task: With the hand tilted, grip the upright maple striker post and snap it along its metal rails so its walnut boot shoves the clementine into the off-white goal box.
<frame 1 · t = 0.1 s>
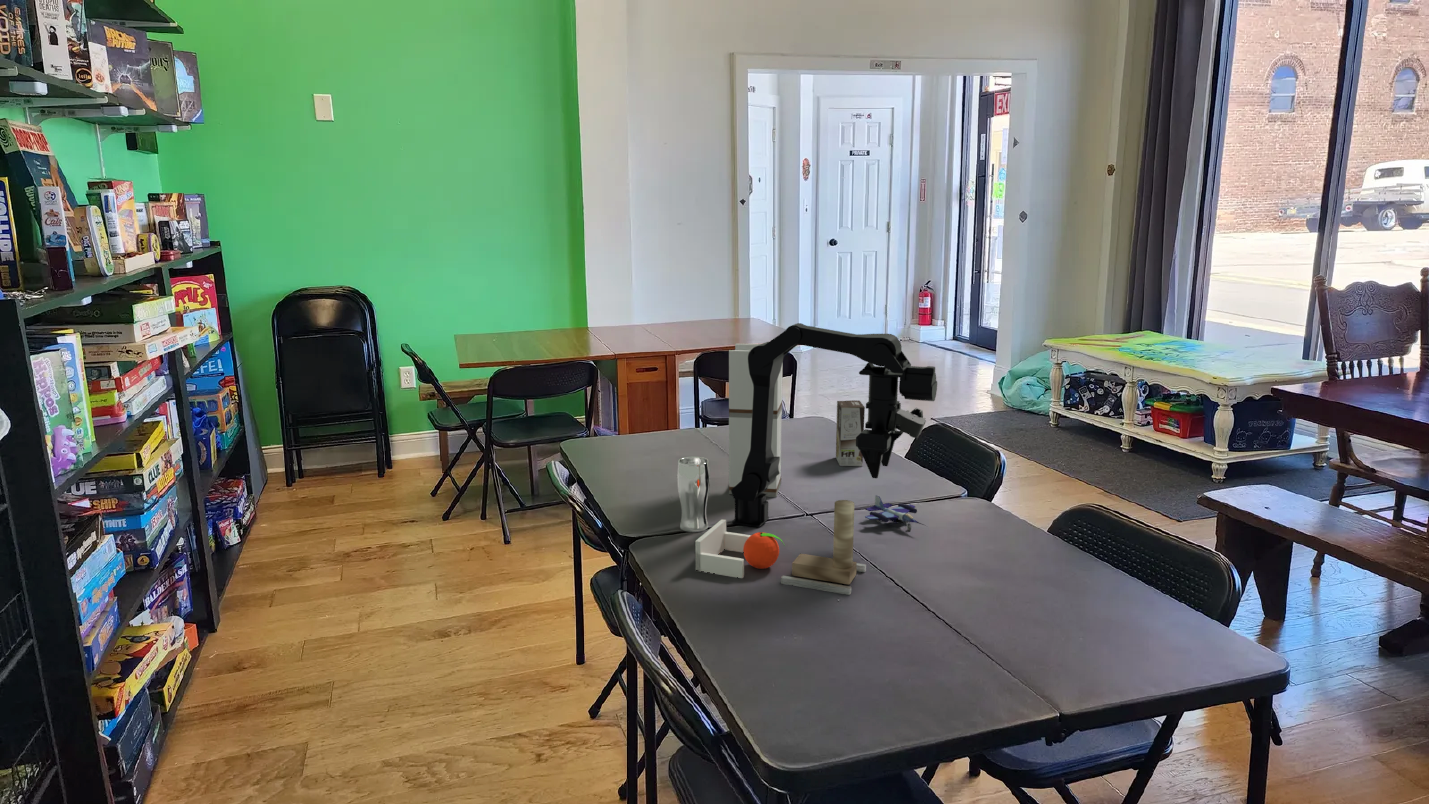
hand: (880, 471, 187), 15 cm above the table, tool pointing down, fingers open, 9 cm apart
white square tower: (755, 490, 224), on the table
beer glass: (694, 528, 198), on the table
goal: (733, 562, 179), on the table
coffee box: (849, 462, 247), on the table
clementine: (763, 568, 176), on the table
toy airplane: (895, 526, 199), on the table
striker: (825, 538, 170), point 8 cm above the table, slide at 0.0 cm
rails: (824, 576, 172), on the table
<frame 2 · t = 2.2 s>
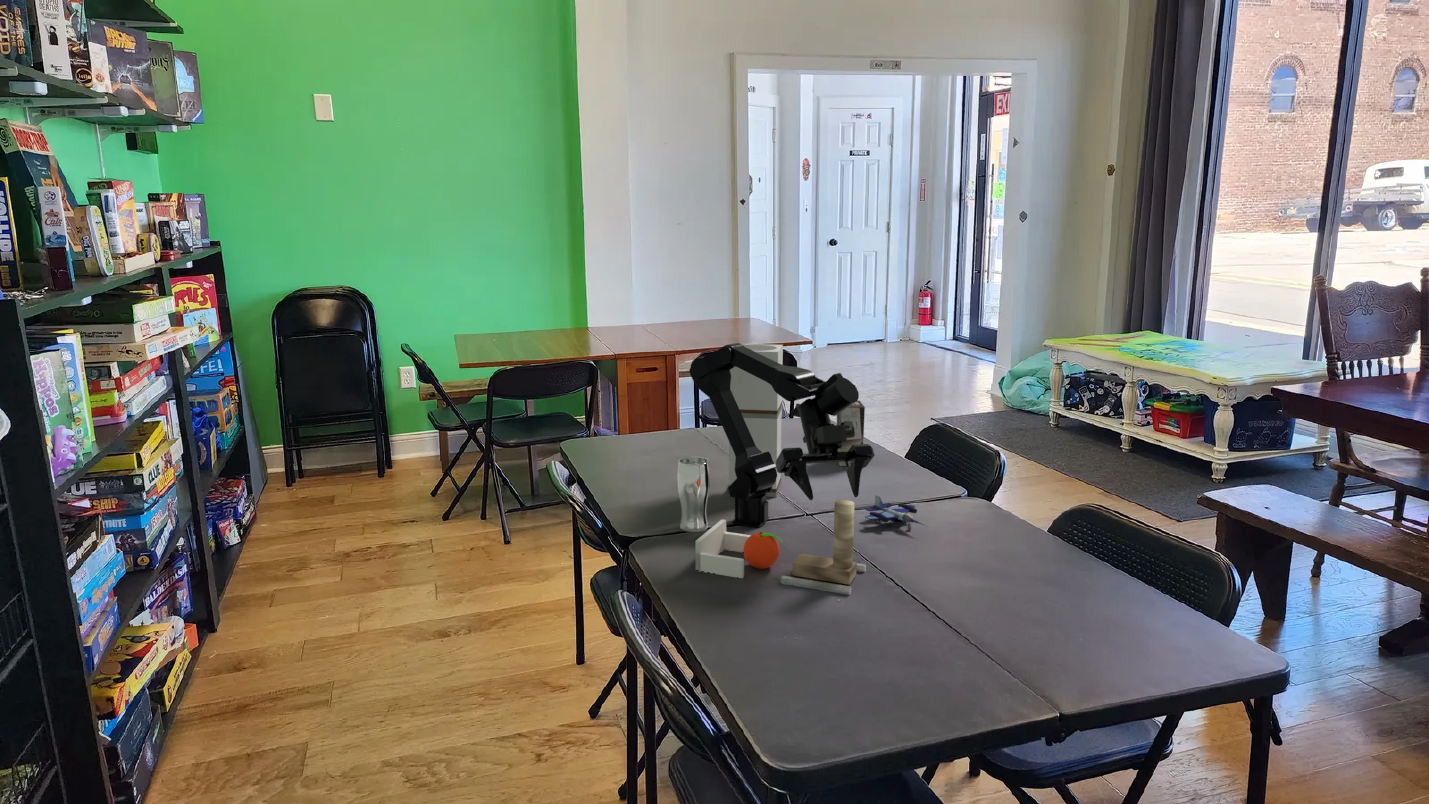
hand: (834, 497, 175), 13 cm above the table, tool tilted 45°, fingers open, 9 cm apart
nothing on the table moved.
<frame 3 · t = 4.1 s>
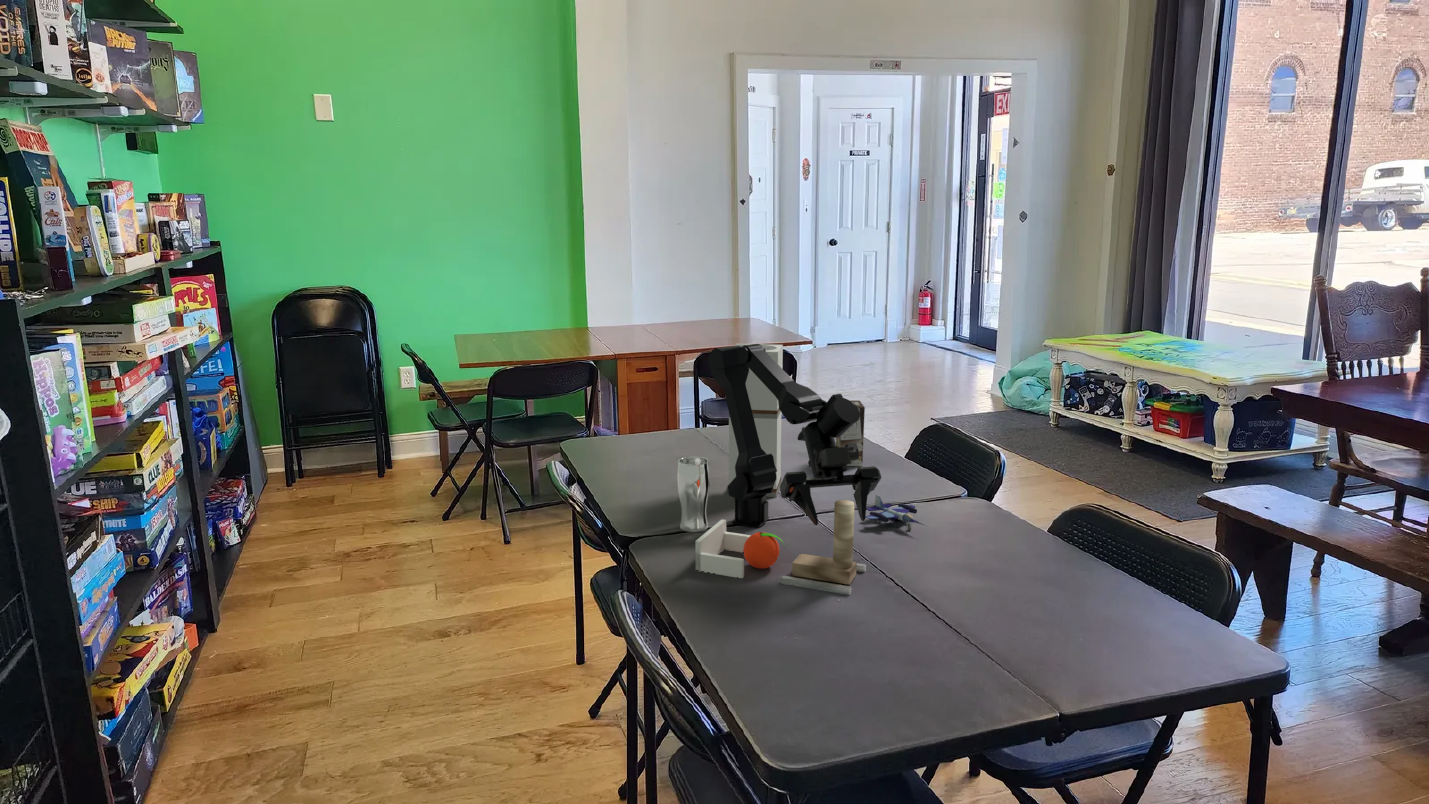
hand: (840, 522, 170), 11 cm above the table, tool tilted 45°, fingers open, 9 cm apart
nothing on the table moved.
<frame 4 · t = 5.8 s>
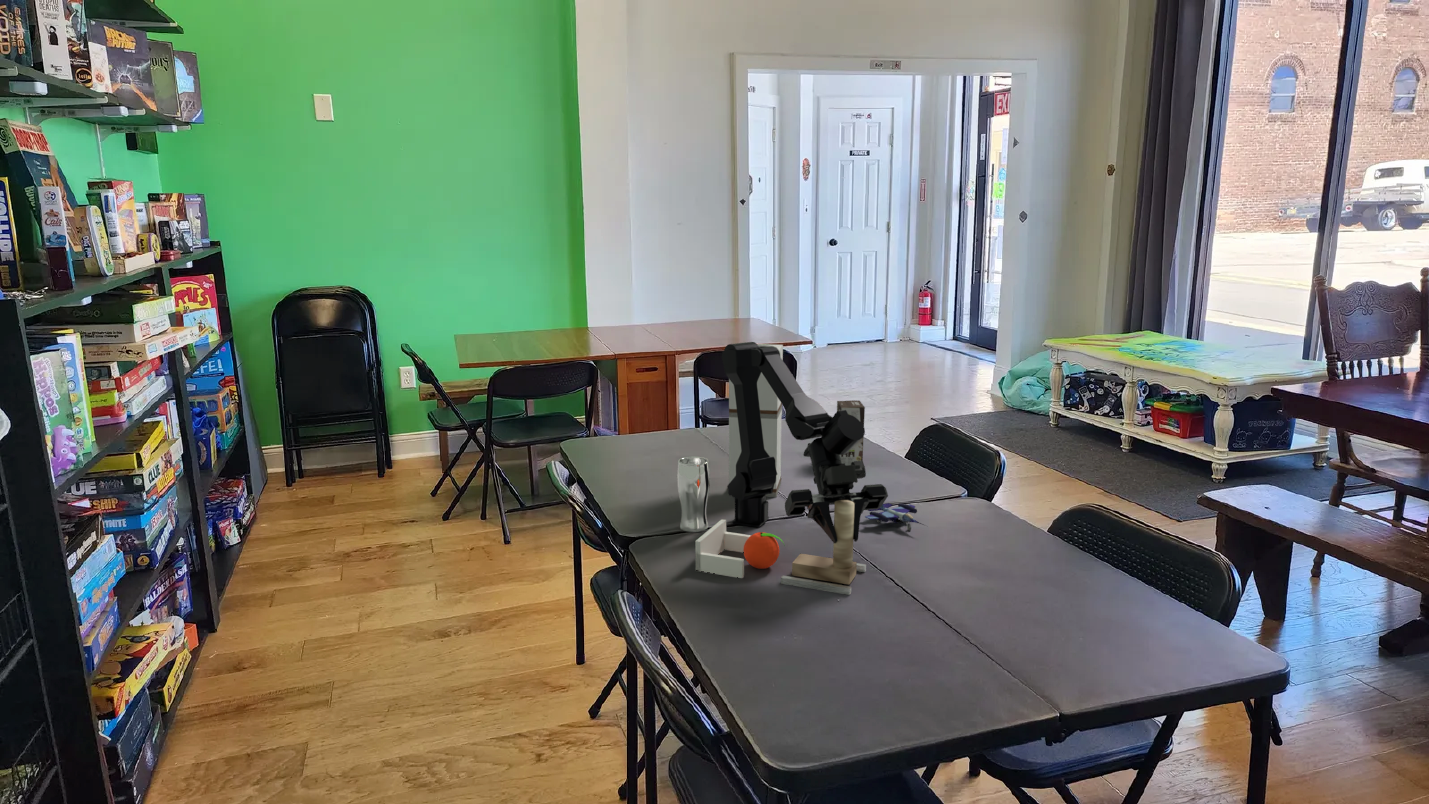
hand: (846, 541, 167), 8 cm above the table, tool tilted 45°, fingers closed on striker, 4 cm apart
striker: (825, 538, 170), point 8 cm above the table, slide at 0.0 cm, touching gripper
everything else where it was.
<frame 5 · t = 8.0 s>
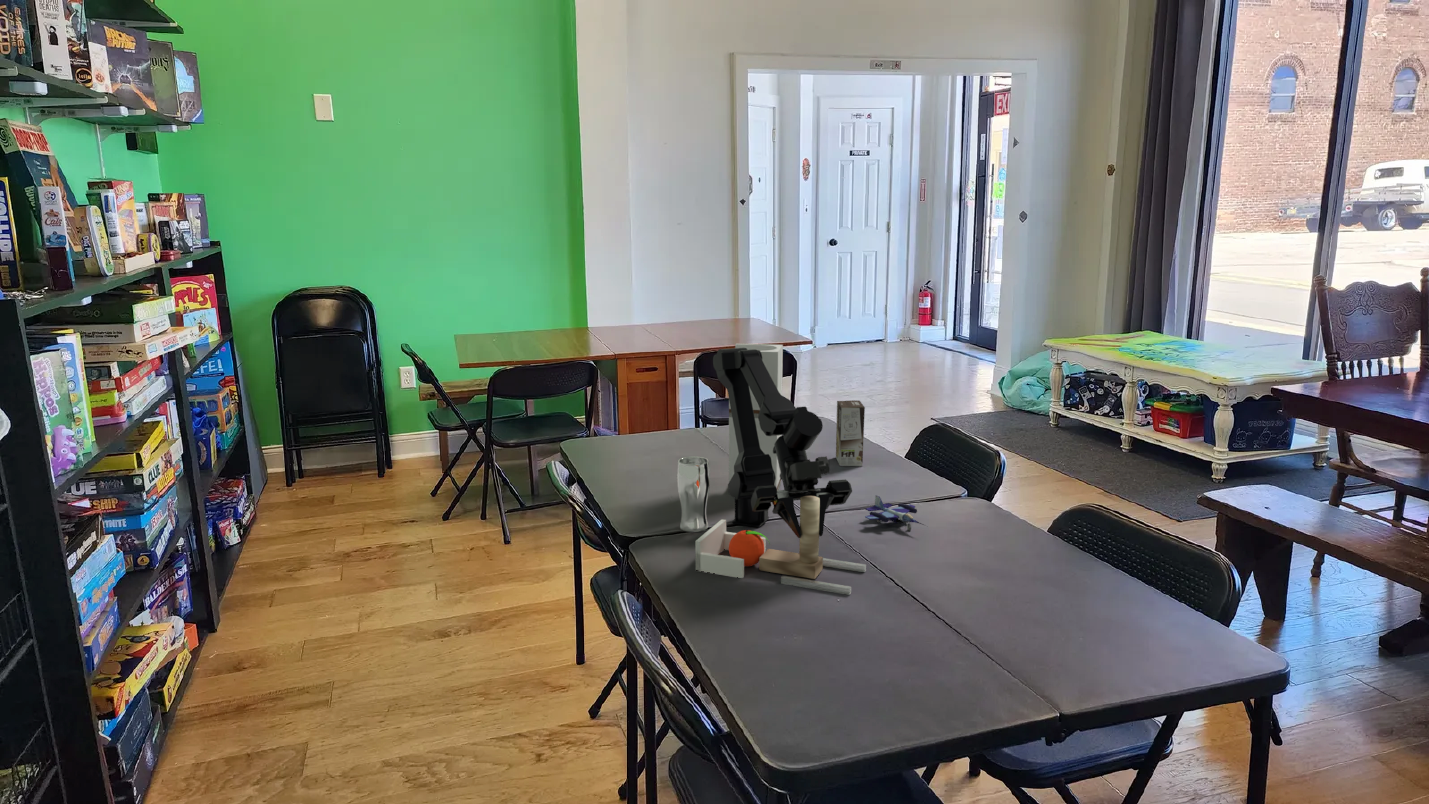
hand: (810, 536, 170), 8 cm above the table, tool tilted 45°, fingers closed on striker, 4 cm apart
clementine: (749, 566, 177), on the table
striker: (791, 533, 172), point 8 cm above the table, slide at 6.6 cm, touching gripper
everything else where it was.
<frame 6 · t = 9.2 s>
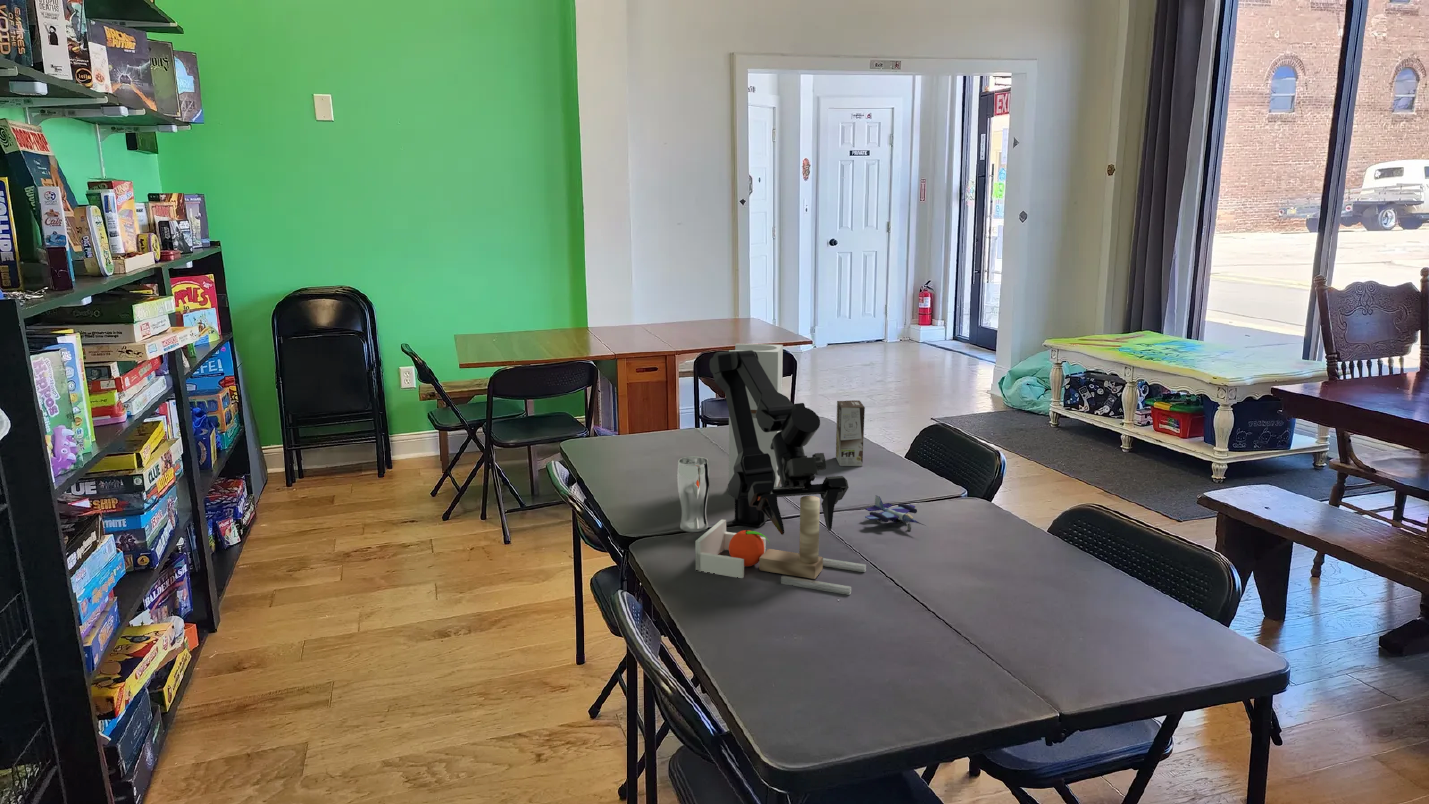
hand: (806, 531, 171), 8 cm above the table, tool tilted 45°, fingers open, 9 cm apart
striker: (791, 533, 172), point 8 cm above the table, slide at 6.5 cm
everything else where it was.
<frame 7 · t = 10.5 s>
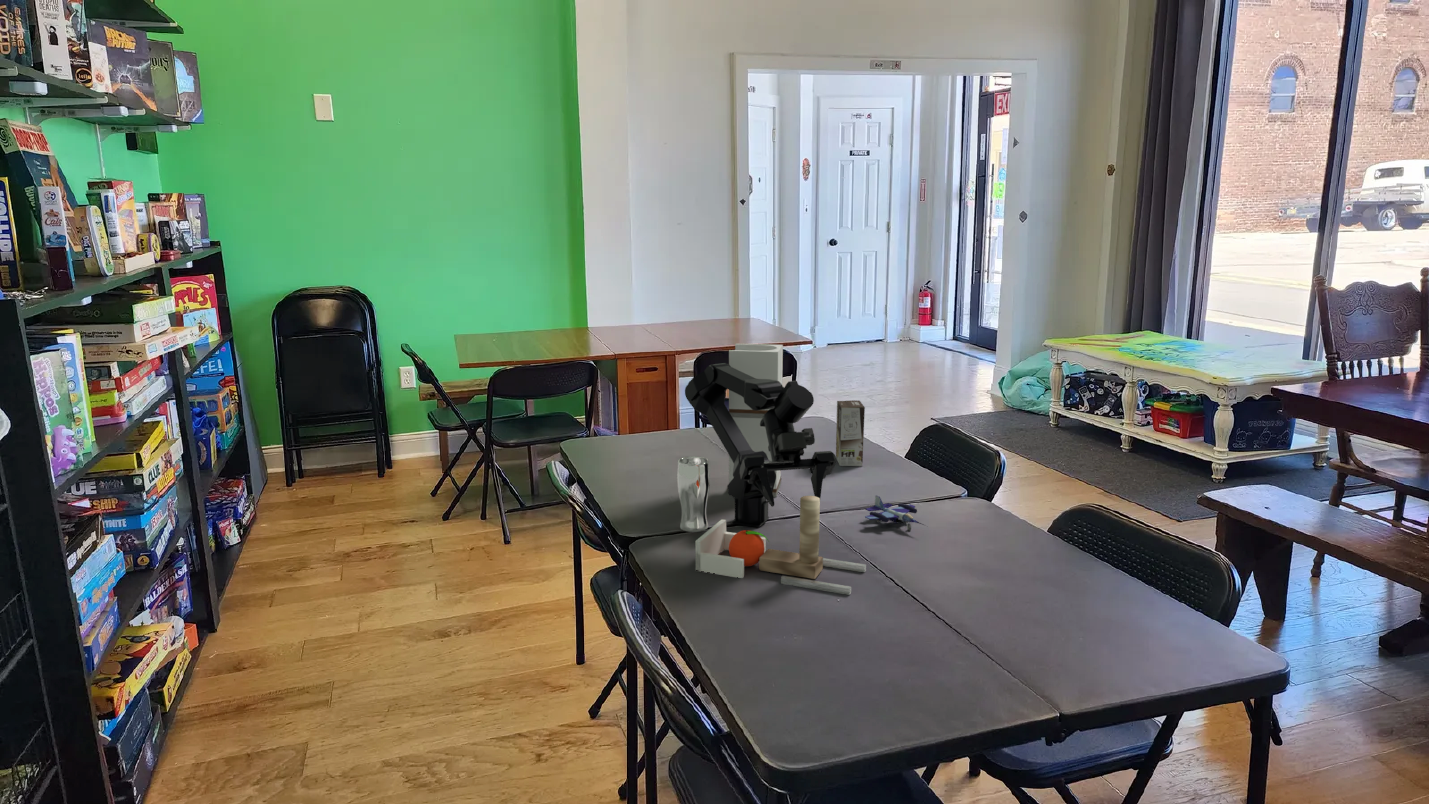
hand: (796, 504, 178), 11 cm above the table, tool tilted 45°, fingers open, 9 cm apart
nothing on the table moved.
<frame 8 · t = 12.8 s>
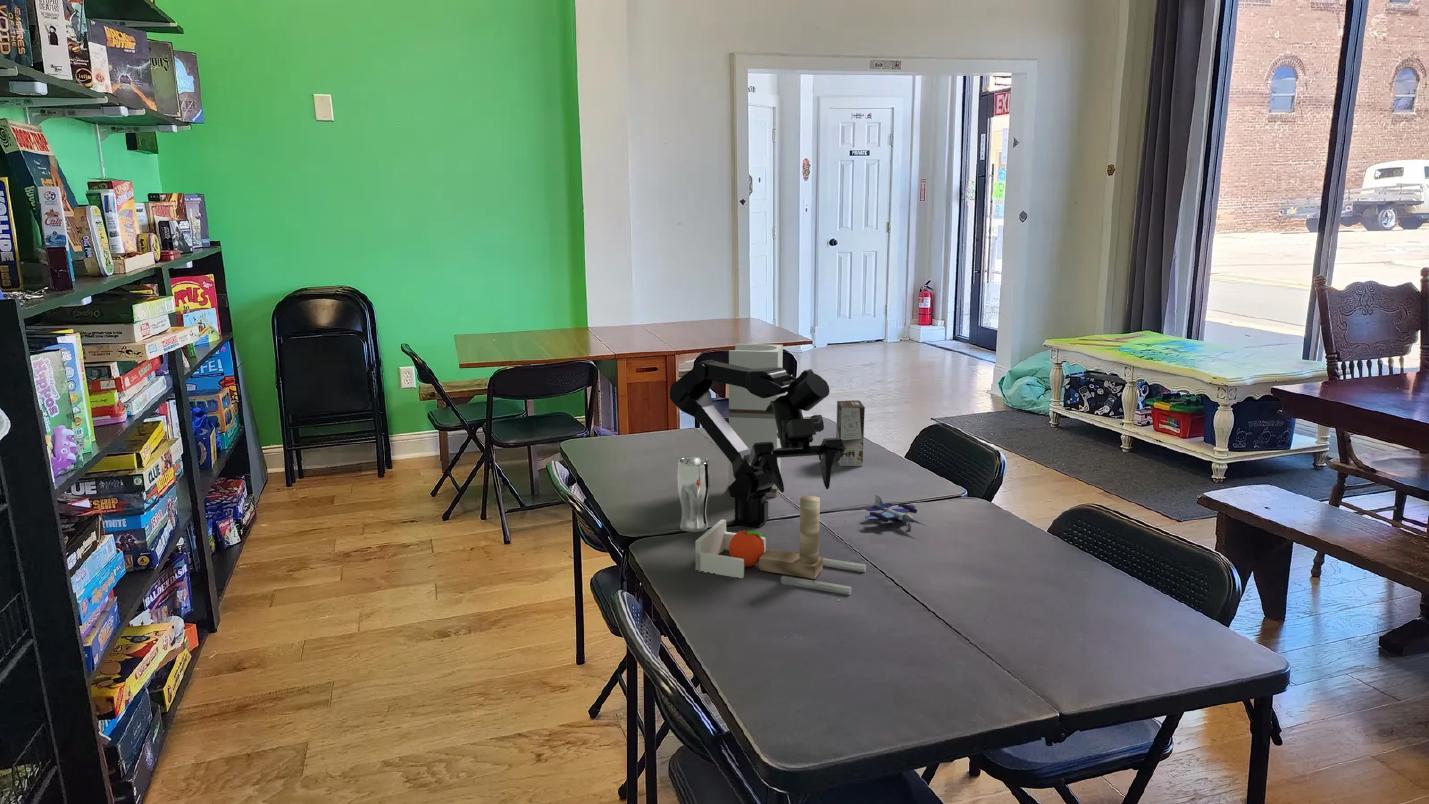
hand: (805, 490, 179), 14 cm above the table, tool tilted 45°, fingers open, 9 cm apart
nothing on the table moved.
at the end: clementine 3.2 cm from the goal (horizontally); striker slide at 6.5 cm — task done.
